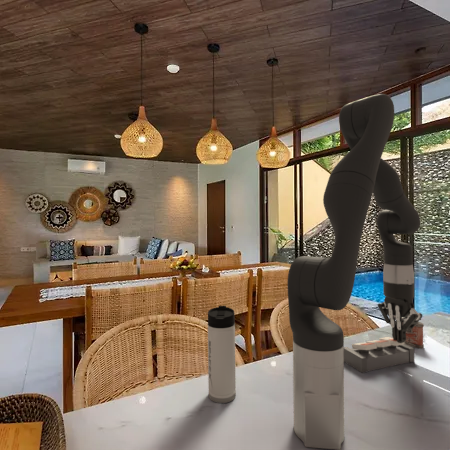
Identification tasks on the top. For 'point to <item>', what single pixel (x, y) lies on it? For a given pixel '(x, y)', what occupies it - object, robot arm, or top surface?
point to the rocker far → (391, 341)
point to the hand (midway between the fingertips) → (399, 341)
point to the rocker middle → (380, 343)
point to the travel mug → (221, 354)
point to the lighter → (415, 336)
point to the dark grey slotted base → (378, 357)
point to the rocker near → (364, 346)
